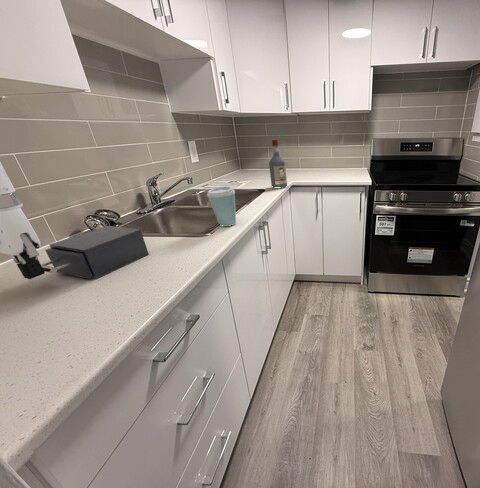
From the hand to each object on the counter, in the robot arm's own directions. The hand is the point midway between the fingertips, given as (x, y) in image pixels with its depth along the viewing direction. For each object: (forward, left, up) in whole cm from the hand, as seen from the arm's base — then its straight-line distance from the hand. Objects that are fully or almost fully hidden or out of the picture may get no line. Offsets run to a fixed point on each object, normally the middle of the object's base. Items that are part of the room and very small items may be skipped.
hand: (35, 275), depth 64 cm
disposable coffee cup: (+48, +29, -5) cm, 56 cm away
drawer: (+8, +8, -4) cm, 12 cm away
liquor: (+90, +93, -5) cm, 130 cm away
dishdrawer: (+11, +11, -4) cm, 16 cm away
